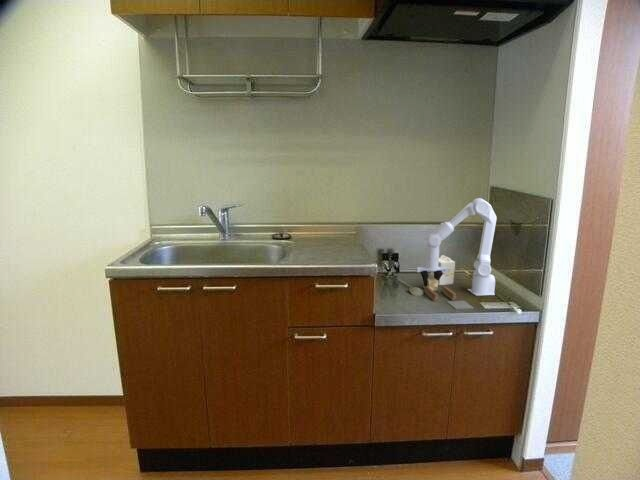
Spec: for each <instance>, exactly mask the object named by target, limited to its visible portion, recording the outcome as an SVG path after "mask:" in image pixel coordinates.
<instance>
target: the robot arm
mask: <svg viewBox="0 0 640 480" xmlns="http://www.w3.org/2000/svg"><path fill="white" fill-rule="evenodd" d="M476 214H478V215H480V216H481V218H482V219H483V220H484V221H483V227H482V234H481V238H480V244H479V251H478V254H477V256H476V259H475V261H473V267H474V269H475V270H474V271H473V273H472V282H471V288H467V291H469V292H471V294H473V295H475V296H476V297H477V296H495V295H496V294H495V287H496V277H495V276H494V275H493V274H491V272H492V267H491V254H492V253H491V252H492V248H493V241H494V235H495V231H496V226H497V218H498V217H497V215H496V213H495V211H494V209H493V207H492V205H491V204H490V203H489V202H488V201H486V200H485V199H483V198H481V197H478V198H475V199H473V200H472V202H469V203H468V204H467V205H466V206H465V207H463V208H462V209H461V210H460V211H459V212H458V213H457V214H456V215H455V216H454V217H453V218H452V219H451V220H450V221H444V222H441V223H440V224H439V225H440V226H439V227H438V228H436V229H434V230H432V233H431V232H430V233H429V234H428V236H427V238H426V241H427V246H426V247H427V248H426V255H425V256H426V257H425V259H426V260H425V266H424V265H423V266H416V270H415V271H416V273H420V275H421V278H422V280H423V281H422V282H423V287H424V286H427V280H428V277H430V275H429V273H428V272H431V271H434V278H435V279H436V280H438V281H439V279H440V277H441V276H442V275H443V272H442V271H447V267H443V266H438V261H439V258H440V245H441V244H442V241H443V240H445V239H446V238H448V237H449V236H450V235H451V234H452V233H453V232H454V231H455V227H456V226H457V225H459V224H460V223H461V222H462V221H463V220H465V219H466V218H467V217H469V216H476Z"/></svg>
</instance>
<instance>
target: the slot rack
mask: <svg viewBox="0 0 640 480" xmlns="http://www.w3.org/2000/svg"><path fill="white" fill-rule="evenodd" d="M423 292H424V295H425V294H426V295H427V296H428V297H429V298H430V299H431V300H432V301H433V302H438V300H439V299H438V297H439V294H438V293H437V292H436V291H433V290H432V289H431V288H429V287H428V286H425V288H424V290H423ZM441 293H442V294H444V295H445V296H446V297H448V298H449V300H450V301H457V300H456V299H457V293H456V292H454V291H453V290H452V289H450V288H449V287H447V285H441Z"/></svg>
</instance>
